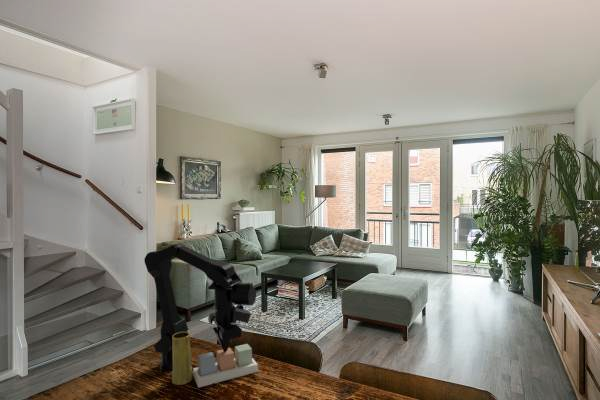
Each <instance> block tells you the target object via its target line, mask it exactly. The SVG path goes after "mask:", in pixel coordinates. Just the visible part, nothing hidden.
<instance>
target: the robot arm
mask: <svg viewBox="0 0 600 400" xmlns="http://www.w3.org/2000/svg"><path fill="white" fill-rule="evenodd" d="M175 259H178V260H180V261H183V262H184V263H186V264H188V265H189V266H190V265H191V266H192V267H194V268H196V269H198V270H200V271H202V272H203V273H204V274H205V276H206V277H207V278H208V279H209V280H210V281H212V282H211V284H210V285H209V286H208V287H207V289H208V290H213V291H214V292H213V293H214V294H213V295H214V305H213V306H212V308H213V310H214V312H211V313H210V314H209V315H208V323H209V325H212V324H213V323H214V325H215V326H214V327H213V328H212V330H213V332H214V334H215V337H216V339H217V340H218V342H219V345H220V347H221V350H222V349H223V351H224V352H226V351H227V349H228V348H229V346H230V345H229V344H230V340H234V339H239V338H242V337H243V329H242V328H241V327H240V326H239V325H238V324H237V322H243V323H245V324H249V321H250V318H251V315H252V313H251V312H250V311H249V310H247V309H246V308H244V307H245V306H253V305H254V304H255V302H256V300H257V299H256V298H257V291H256V288H255V286H254V284H253V282H243V280H242V279H241V278H240V276H239V275H238V273H237V272H236V270H235V267H234V265H233V264H232V263H231V262H228V261H225V260H219V259H214V258H211V257H208V256H206V255H205V254H202V253H200V252H198V251H196V250H194V249H192V248H190V247H188V246H186V245H185V244H184V243H180V242H179V243H175V244H172V245H170V246H168V247H166V248H163V249H158V250H154V251H150V252H148V253H146V254H145V257H144V259H143V260H144V265H145V267H146V269H147V272H148V274H150V276H151V277H152V278H153V279H154V285H155V288H156V289H155V290H156V293H157V297H158V298H157V299H158V302H159V303H158V304H159V307H160V308H159V309H160V313H161V316H162V317H161V318H162V323H161V326H160V330H159V331H160V339H158V341H157V342H156V343H155V345H154V346H153V347H154V350H155V352H156V353H160V360H161V361H159V367H160V371H161V372H165V371H170V370H173V353H172V336H173V335H174V334H176V333H179V332H188V331H189V327H188V325H187V319H186V318H183V319H182V318H181V316H180V315H179V313H178V309H177V303H176V299H175V295H174V291H173V285H172V280H171V276H170V274H171V270H172V266H173V263H172V260H175ZM229 280H230V281H229ZM235 305H236V306H235Z"/></svg>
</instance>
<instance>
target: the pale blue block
mask: <svg viewBox="0 0 600 400" xmlns="http://www.w3.org/2000/svg"><path fill="white" fill-rule="evenodd" d="M215 363H216V356H215V355H214V353H213V352H212V351H209V352H205V353H202V354H201V353H200V354H198V355H197V367H198V371H199V373H200V375H201V376H200V377H202V376H206V375H210V374H213V373H216V368H215Z"/></svg>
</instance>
